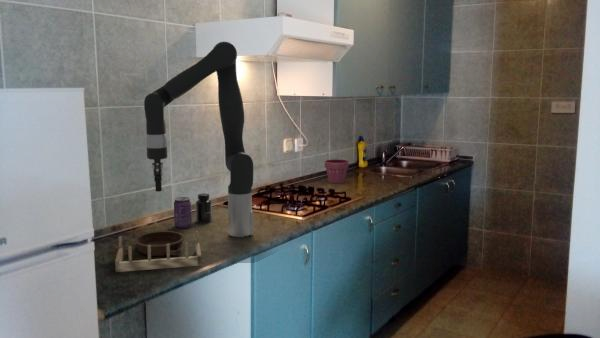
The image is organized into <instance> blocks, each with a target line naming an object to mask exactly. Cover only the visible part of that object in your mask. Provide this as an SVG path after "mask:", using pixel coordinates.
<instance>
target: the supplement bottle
mask: <svg viewBox="0 0 600 338" xmlns="http://www.w3.org/2000/svg"><path fill="white" fill-rule="evenodd" d="M197 199H198V200H196V202H195V221H196V223H199V224H207V223H211V222H212V221H213V220H212V219H213V215H212V214H213V213H212V207H213V204H212V201H211V199H210V194H209V193H206V192H205V193H198V194H197Z"/></svg>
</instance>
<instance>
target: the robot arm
mask: <svg viewBox="0 0 600 338" xmlns="http://www.w3.org/2000/svg"><path fill="white" fill-rule="evenodd" d="M237 57H238V52H237V49H236V46H235V45H234V44H232V43H231V42H229V41H220V42H218V43H216V44H215V45H214V46H213V49H211V50H210V51H209V52H208V53H207V54H206V55H204V57H203V58H201V59H200V60H199V61H197V62H196V63H194V64H192V66H190V67H188V68H186V69H185V70H183V71H181V72H179V73H178V74H176V75H175V76H173V77H172V78H171V79H169V80H168V81H167V82H165V83H164V85H162V86H160V87H159V88H158V89H155V90H154V91H152V92H151V93H148V94H147V95H146V96H145V98H144V100H143V101H144V102H143V107H144V115H145V120H146V121H145V122H146V123H145V124H146V125H145V128H146V130H145V131H146V139H145V140H146V141H145V143H146V147H145V148H146V158H147V159H148V160H152V161H153V162H152V163H151V168H152V175H153V177H154V179H153V181H154V183H155V185H154V186H155V187H154V188H155V192H162V190H163V189H162V183H163V182H162V181H163V178H162V177H163V170H164V169H163V168H164V163H163V162H162V161H161V160H165V159H167V158H168V139H167V131H166V130H167V128H166V125H167V124H166V121H165V117H164V116H165V111H164V109H165V107H166V106H168V105H170V104H171V103H172V102H173V101H175V100H176V99H179V98H180V97H181V96H183V95H185V94H186V93H187V92H189V91H190V90H191V89H193V88H194V87H196V86H197V85H198V84H200V83H201V82H202V81H203V80H205V79H206V78H208V77H209V76H211V75H213V74H214V73H216V76H217V84H218V87H217V91H218V93H217V99H218V108H219V115H220V116H219V117H220V121H221V122H220V123H221V128H222V133H223V140H224V153H225V154H224V157H225V158H224V159H225V161H224V162H225V166H226V169H227V171H228V172H229V173H230V179H229V180H230V181H229V184H228V187H227V201H228V202H227V205H228V206H227V208H228V235H229V236H230V237H233V238H245V236H246V237H250V236H253V235H254V221H253V220H254V218H253V217H254V214H253V206H252V205H253V204H252V202H253V200H252V198H253V197H252V195H253V194H252V191H253V190H252V188H253V185H254V161H253V158H252V157H251V156H250V155H249V154H247V153H246V151H245V146H244V140H243V139H244V138H243V133H244V132H243V131H244V128H245V127H244V126H245V110H244V108H245V107H244V101H243V97H242V92H241V89H240V85H239V82H238V77H237ZM249 235H250V236H249Z"/></svg>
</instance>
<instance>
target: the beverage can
mask: <svg viewBox="0 0 600 338" xmlns="http://www.w3.org/2000/svg"><path fill="white" fill-rule="evenodd" d="M173 216H174V217H173V218H174V219H173V221H174V227H177V228H179V229H186V228H189V227H190V226H192V224H193V218H192V217H193V216H192V201H191V198H190V197H188V196H180V197H179V196H178V197H175V198H174V202H173Z"/></svg>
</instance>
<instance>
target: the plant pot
mask: <svg viewBox="0 0 600 338" xmlns="http://www.w3.org/2000/svg"><path fill="white" fill-rule="evenodd" d="M349 163H350V162H349V160H347V159H338V158H337V159H326V160H324V168H325V169H326V174H327V175H326V176H327V179H328V183H330V184H343V183H345V180H346V175H347V171H348V168H349V166H350V165H349Z"/></svg>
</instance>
